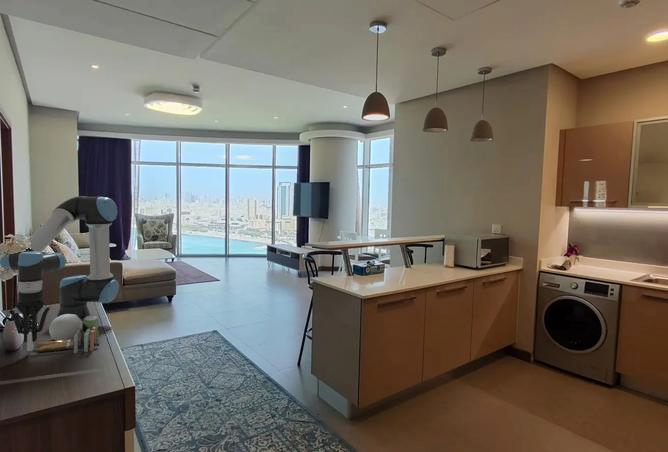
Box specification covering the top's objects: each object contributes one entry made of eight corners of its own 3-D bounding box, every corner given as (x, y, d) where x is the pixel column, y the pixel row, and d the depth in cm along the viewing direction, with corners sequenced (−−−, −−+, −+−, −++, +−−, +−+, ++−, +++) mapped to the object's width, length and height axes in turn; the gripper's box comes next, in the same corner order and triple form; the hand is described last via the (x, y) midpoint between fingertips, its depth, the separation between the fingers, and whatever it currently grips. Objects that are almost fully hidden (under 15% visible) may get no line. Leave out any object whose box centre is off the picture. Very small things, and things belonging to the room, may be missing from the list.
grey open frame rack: (34, 352, 153) (34, 348, 153) (99, 345, 163) (100, 341, 163) (27, 360, 145) (27, 356, 145) (97, 353, 155) (97, 348, 155)
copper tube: (35, 353, 148) (36, 342, 149) (38, 353, 151) (39, 342, 153) (72, 349, 153) (73, 338, 154) (74, 349, 157) (74, 339, 158)
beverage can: (96, 339, 170) (97, 313, 170) (100, 343, 165) (101, 317, 164) (80, 342, 166) (80, 315, 165) (84, 347, 161) (84, 319, 160)
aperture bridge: (93, 344, 161) (93, 326, 161) (95, 344, 162) (96, 326, 162) (90, 351, 154) (90, 332, 154) (93, 350, 155) (93, 332, 154)
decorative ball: (86, 340, 168) (87, 314, 167) (54, 348, 158) (55, 320, 157) (76, 334, 175) (76, 309, 174) (44, 341, 165) (45, 314, 164)
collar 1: (77, 345, 159) (77, 328, 159) (81, 345, 160) (81, 328, 160) (73, 353, 151) (74, 335, 151) (77, 352, 152) (77, 335, 152)
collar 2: (87, 344, 161) (87, 328, 161) (90, 344, 162) (90, 327, 161) (84, 352, 153) (84, 334, 153) (87, 351, 153) (87, 334, 153)
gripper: (6, 294, 141) (6, 355, 142) (48, 292, 147) (48, 350, 148) (12, 289, 148) (12, 348, 149) (53, 288, 154) (52, 344, 155)
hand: (30, 349), depth 149 cm, fingers closed
